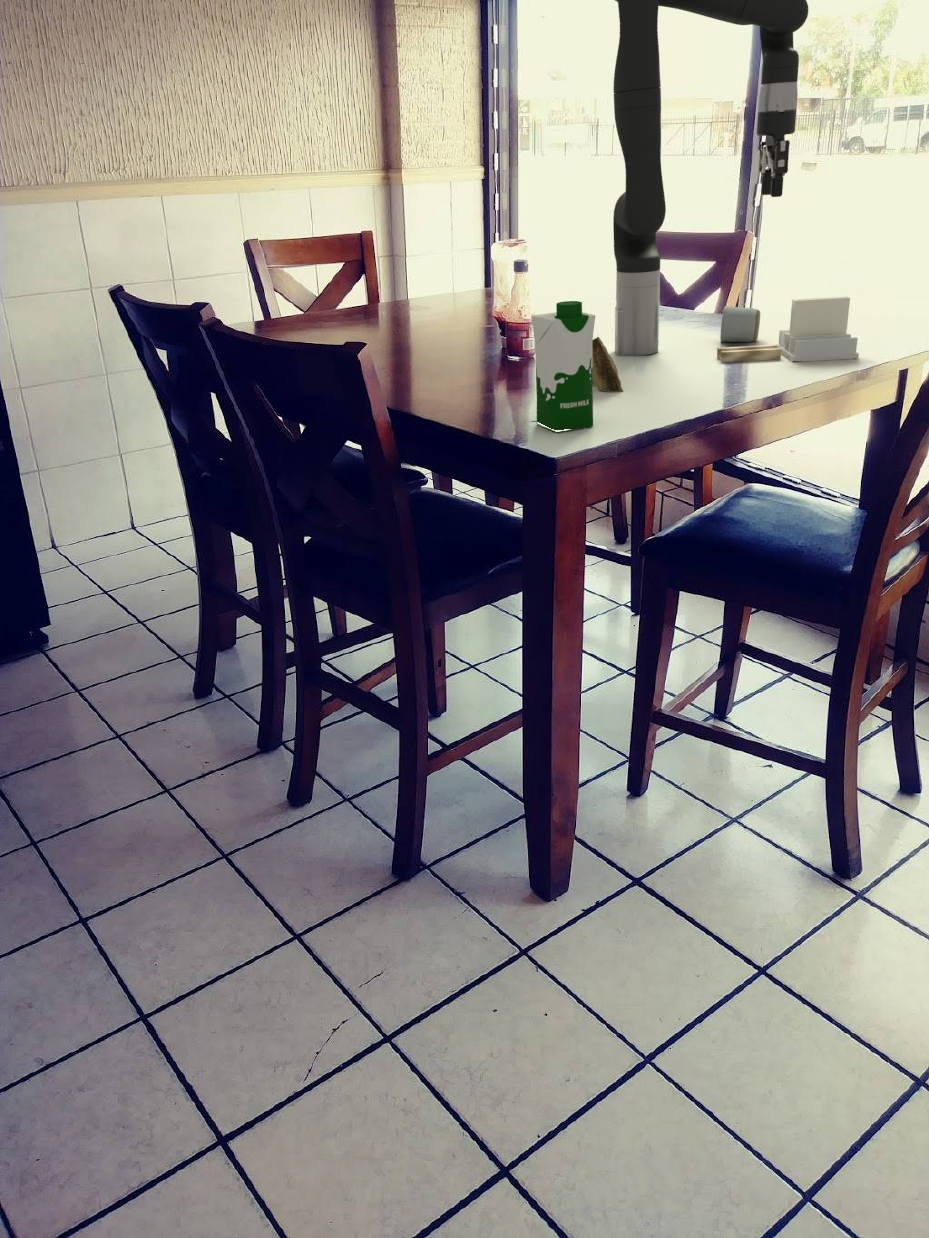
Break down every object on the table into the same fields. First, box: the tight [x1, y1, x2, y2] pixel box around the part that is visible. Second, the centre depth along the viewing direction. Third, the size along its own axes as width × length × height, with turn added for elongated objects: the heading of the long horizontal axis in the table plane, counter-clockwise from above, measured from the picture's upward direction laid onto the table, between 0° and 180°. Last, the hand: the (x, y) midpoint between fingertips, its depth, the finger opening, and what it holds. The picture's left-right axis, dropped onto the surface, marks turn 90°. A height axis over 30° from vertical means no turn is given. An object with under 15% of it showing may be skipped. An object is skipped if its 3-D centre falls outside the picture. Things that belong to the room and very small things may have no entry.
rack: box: [775, 329, 860, 362], centre depth 202 cm, size 13×14×4 cm
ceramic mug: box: [719, 306, 761, 343], centre depth 220 cm, size 11×8×8 cm
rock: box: [592, 336, 624, 392], centre depth 187 cm, size 11×9×10 cm
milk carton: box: [530, 300, 596, 430], centre depth 159 cm, size 9×9×20 cm
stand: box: [716, 344, 782, 363], centre depth 203 cm, size 12×5×2 cm, turn 88°
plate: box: [788, 295, 851, 349], centre depth 201 cm, size 11×2×10 cm, turn 88°
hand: (771, 195), depth 205 cm, fingers open, 8 cm apart
